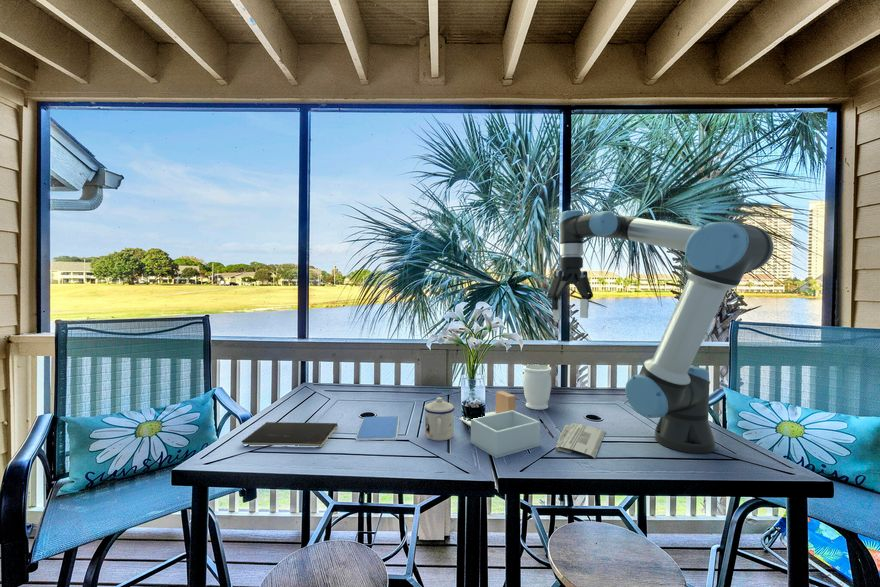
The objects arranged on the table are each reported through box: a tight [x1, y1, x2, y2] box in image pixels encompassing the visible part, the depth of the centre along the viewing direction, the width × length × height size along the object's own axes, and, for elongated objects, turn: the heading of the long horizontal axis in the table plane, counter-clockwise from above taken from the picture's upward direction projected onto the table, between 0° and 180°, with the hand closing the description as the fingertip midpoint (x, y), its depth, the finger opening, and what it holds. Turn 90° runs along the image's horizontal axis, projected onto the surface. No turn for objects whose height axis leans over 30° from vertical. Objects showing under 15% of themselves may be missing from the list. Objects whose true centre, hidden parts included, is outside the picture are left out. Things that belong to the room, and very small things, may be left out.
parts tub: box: [470, 410, 541, 459], centre depth 117 cm, size 12×16×7 cm
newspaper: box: [555, 422, 606, 459], centre depth 120 cm, size 23×12×2 cm, turn 151°
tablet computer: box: [354, 415, 400, 441], centre depth 129 cm, size 19×13×1 cm, turn 3°
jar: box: [522, 364, 552, 411], centre depth 152 cm, size 11×10×15 cm
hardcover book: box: [241, 421, 338, 447], centre depth 122 cm, size 16×23×2 cm
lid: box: [458, 390, 516, 427], centre depth 137 cm, size 13×17×9 cm
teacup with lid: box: [424, 396, 455, 442], centre depth 122 cm, size 12×9×12 cm
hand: (570, 318), depth 139 cm, fingers open, 13 cm apart
